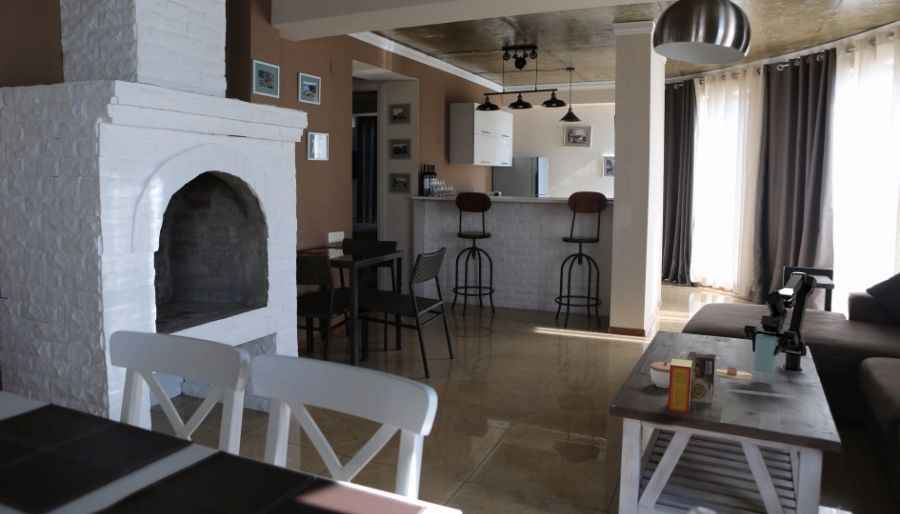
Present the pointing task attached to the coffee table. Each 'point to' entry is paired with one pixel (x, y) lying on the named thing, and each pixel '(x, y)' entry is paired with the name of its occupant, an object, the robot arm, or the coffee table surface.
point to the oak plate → (740, 375)
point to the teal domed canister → (765, 353)
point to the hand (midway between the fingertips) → (763, 353)
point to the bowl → (732, 370)
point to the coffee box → (702, 377)
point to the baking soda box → (680, 385)
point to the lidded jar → (660, 373)
